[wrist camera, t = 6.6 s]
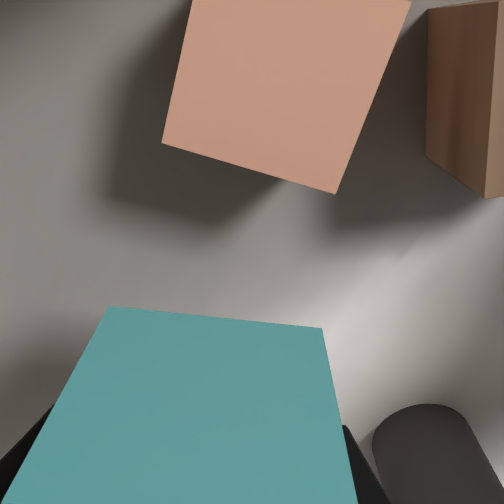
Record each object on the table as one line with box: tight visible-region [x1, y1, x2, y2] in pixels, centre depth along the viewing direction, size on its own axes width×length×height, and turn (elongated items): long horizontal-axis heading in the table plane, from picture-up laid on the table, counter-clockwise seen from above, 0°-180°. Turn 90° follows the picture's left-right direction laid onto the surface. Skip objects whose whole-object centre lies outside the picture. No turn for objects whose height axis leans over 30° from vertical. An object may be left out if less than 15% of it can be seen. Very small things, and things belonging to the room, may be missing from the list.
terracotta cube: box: [161, 0, 412, 194], centre depth 14 cm, size 5×5×5 cm
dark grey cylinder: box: [372, 404, 504, 504], centre depth 22 cm, size 5×5×5 cm
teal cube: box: [1, 306, 358, 504], centre depth 10 cm, size 5×5×5 cm
